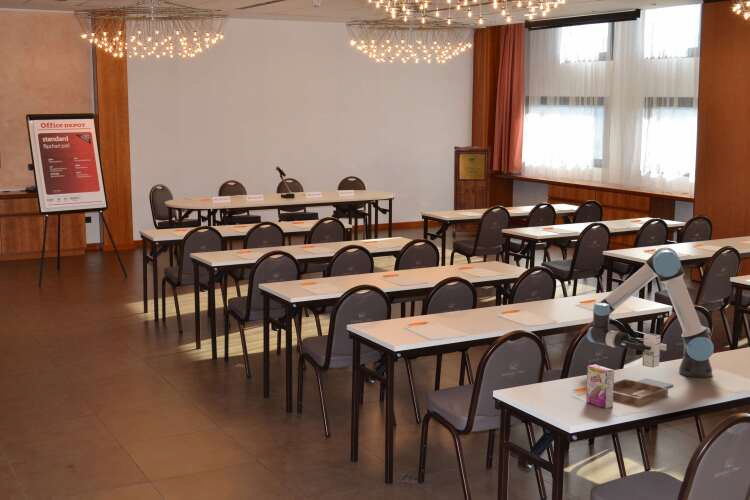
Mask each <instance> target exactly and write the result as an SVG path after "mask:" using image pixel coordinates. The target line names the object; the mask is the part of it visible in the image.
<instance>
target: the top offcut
mask: <svg viewBox="0 0 750 500" xmlns="http://www.w3.org/2000/svg"><path fill="white" fill-rule="evenodd" d="M649 393H652V392H651V391H647V390H637V391H636V392H633V393H632V394H631V396H635V397H640V396H643V395H646V394H649Z"/></svg>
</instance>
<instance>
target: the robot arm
mask: <svg viewBox="0 0 750 500" xmlns="http://www.w3.org/2000/svg"><path fill="white" fill-rule="evenodd" d="M684 275H685V271H684V268H683V266H682V263H681V260H680V256H679V255H678V254H677V252H676V251H675V249H672V248H670V247H661V248H658V249H657V250H656V251H655V252H654V253H653V254H652V255H651V256H650V257H649V258H647V259H646V260H645V262H644V265H643V266H642V267H640V268H639V269H638V270H637V271H636V272H634V273H633V274H632V275H630V277H628V278H627V279H626V280H625V281H623V282H622V283H621V284H620V285H619V286H618V287H616V288H614V290H612V291H611V292H610V293H609V294H608V295H607V296H606V297H604V298H603V299H602V300H601V301H599V302H596V303H594V304H593V311H592V312H593V316H592V318H593V319H592V326H591V327H589V328H588V330H587V332H586V338H587V340H588V341H589V342H591V343H594V344H599V345H603V346H608V347H611V349H612V348H618V349H621V350H622V349H623V350H625V349H626V348H627V349H631V350H632V349H633V350H636V351H641V352H642V353H643V352H644V349H645V350H646V351H651V352H656V353H658V348H659V347H657V346H653V345H648V344H645V346H644V338H641V337H632V336H631V337H630V336H629V334H628V333H626V332H621V331H617V330H611V329H610V316H611V314H612V313H614V311H616V309H618V308H619V307H620V306H622V305H623V304H624V303H626V301H628V300H629V299H631V297H633V296H635V294H636V293H638V292H639V291H640V290H642V289H643V288H644V287H645V286H646V285H648V283H650V282H651V281H652V280H653V279H655V278H657V277H658V280H659V282H660V283H661V284H664V286H665V288H666V291H667V293H668V296H669V298H670V301H671V304H672V306H673V307H672V308H673V309H674V311H675V314H676V316H677V319H678V321H679V324H680V327H681V330H682V334H681V338H682V340H683V357H682V360H681V361H680V365H679V368H678V372H679V374H680V375H683V376H686V377H691V378H707V377H706V376H710V375H712V376H713V369H712V368H713V367H712V365H711V361H710V358H711V357H712V355H713V353H714V349H715V347H714V343H713V342H712V339H711V334H712V333H711V328H709V327H706V326H704V325H702V323H701V321H700V318H699V316H698V313H697V311H696V309H695V306H694V303H693V300H692V297H691V296H690V293H689V290H688V288H687V285H686V283H685V280H684ZM660 351H665V352H666V351H667V344H666V343H661V342H660ZM710 377H711V376H710Z"/></svg>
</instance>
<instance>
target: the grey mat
mask: <svg viewBox="0 0 750 500" xmlns="http://www.w3.org/2000/svg"><path fill="white" fill-rule="evenodd" d="M637 382H641V383H645V384H650V385H654V386H658V387H663V388H667V389H670V388H673V387H674V384H673V383H670V382H664V381H660V380H657V379H652V378H648V377H647V378H643V379H639V380H637Z"/></svg>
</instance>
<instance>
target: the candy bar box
mask: <svg viewBox="0 0 750 500" xmlns="http://www.w3.org/2000/svg"><path fill="white" fill-rule="evenodd" d="M586 369H587V371H586V373H587V374H586V375H587V376H586V401H585V402H586V403H587V404H589V405H593V406H596V407H598V408H602V409H604V410H605V409H612V408H613V407H614V400H613V387H614V381H615V370H614V369H612V368H609V367H605V366H602V365H598V364H589V365H587V368H586Z"/></svg>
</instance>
